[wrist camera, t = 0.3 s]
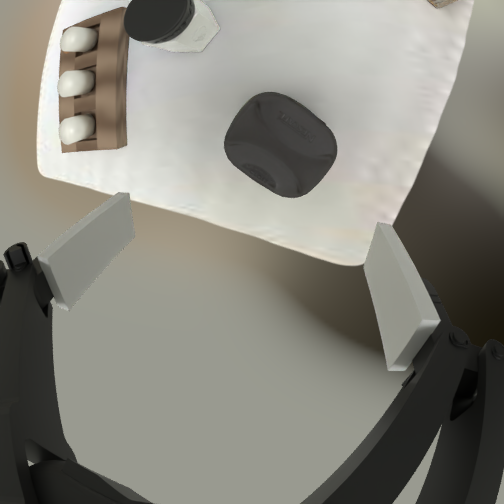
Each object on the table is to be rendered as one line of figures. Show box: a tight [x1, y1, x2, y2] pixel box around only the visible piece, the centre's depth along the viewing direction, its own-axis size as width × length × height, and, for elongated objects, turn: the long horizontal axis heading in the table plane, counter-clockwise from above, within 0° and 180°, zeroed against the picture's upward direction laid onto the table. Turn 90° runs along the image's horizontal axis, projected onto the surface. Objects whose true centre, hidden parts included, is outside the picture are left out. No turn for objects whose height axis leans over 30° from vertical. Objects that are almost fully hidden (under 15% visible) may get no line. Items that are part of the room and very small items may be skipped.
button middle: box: [57, 70, 95, 97], centre depth 29 cm, size 4×4×5 cm
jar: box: [124, 0, 220, 52], centre depth 23 cm, size 9×8×12 cm
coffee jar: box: [224, 92, 337, 198], centre depth 27 cm, size 10×8×19 cm
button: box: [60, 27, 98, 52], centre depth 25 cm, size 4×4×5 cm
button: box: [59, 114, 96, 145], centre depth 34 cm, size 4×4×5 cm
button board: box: [59, 7, 129, 153], centre depth 32 cm, size 25×14×3 cm, turn 176°
